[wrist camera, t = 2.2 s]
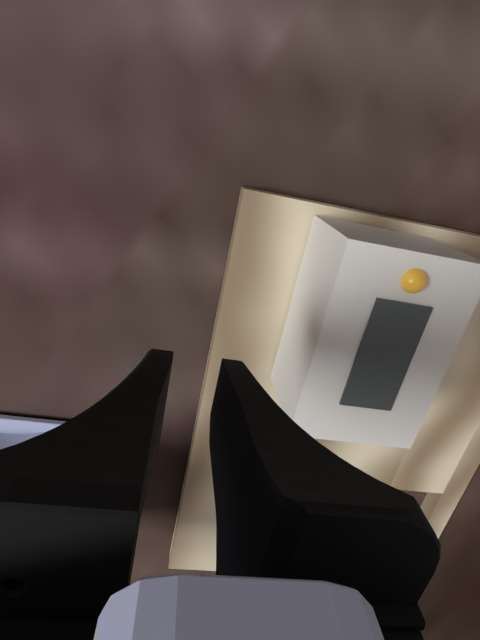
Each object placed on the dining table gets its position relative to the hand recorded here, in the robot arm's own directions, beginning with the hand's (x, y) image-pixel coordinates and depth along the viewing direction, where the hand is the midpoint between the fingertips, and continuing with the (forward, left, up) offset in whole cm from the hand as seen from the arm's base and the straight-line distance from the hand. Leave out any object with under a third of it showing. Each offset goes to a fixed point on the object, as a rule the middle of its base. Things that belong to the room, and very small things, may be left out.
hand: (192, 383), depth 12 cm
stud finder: (+8, 0, -9) cm, 12 cm away
